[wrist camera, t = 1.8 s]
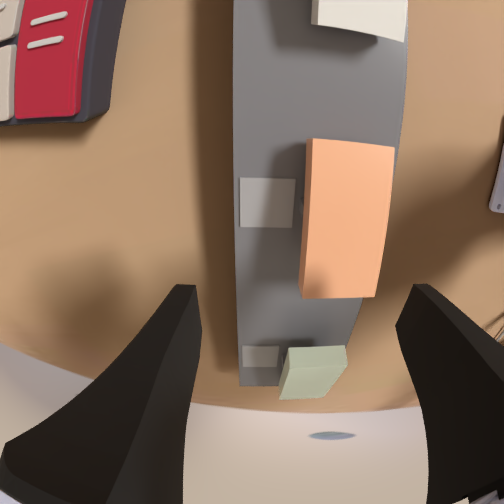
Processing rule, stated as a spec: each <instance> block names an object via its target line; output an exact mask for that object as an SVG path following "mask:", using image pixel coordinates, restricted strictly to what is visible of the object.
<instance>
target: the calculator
mask: <svg viewBox="0 0 504 504" xmlns="http://www.w3.org/2000/svg"><path fill="white" fill-rule="evenodd" d="M125 3H126V0H0V126H10V125H23V124H41V123H83V122H86V121H88V120H90V119H93V118H95V117H97V116H99V115H102V114H104V113H106V112H107V111H108V110H109V107H110V98H111V88H112V79H113V71H114V64H115V57H116V51H117V45H118V39H119V33H120V28H121V23H122V17H123V12H124V7H125Z"/></svg>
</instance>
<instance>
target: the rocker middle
mask: <svg viewBox="0 0 504 504" xmlns="http://www.w3.org/2000/svg"><path fill="white" fill-rule="evenodd" d="M394 152H395V147H389V146H382V145H374V144H367V143H358V142H349V141H340V140H329V139H316V138H309V139H306V169H305V192H304V210H303V227H302V242H301V256H300V268H299V280H298V286H299V289H300V293H301V296H302V299H321V298H359V297H375V292H376V287H377V282H378V277H379V272H380V267H381V262H382V256H383V250H384V244H385V237H386V231H387V224H388V216H389V208H390V200H391V190H392V179H393V167H394Z"/></svg>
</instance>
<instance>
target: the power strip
mask: <svg viewBox="0 0 504 504" xmlns="http://www.w3.org/2000/svg"><path fill="white" fill-rule="evenodd" d="M311 14H312V0H234V9H233V173H234V229H235V269H236V303H237V331H238V357H239V380H240V386H279V381H280V378H281V374H282V370H283V367H284V363H285V359H286V356H287V352H288V348H292V347H320V346H339V345H345V349H346V346H347V343H348V341H349V338H350V335H351V333H352V330H353V327H354V324H355V321H356V318H357V315H358V313H359V310H360V307H361V303H362V300H363V297H359V298H321V299H302V296H301V293H300V289H299V286H298V280H299V268H300V256H301V242H302V227H303V210H304V192H305V169H306V139H309V138H316V139H329V140H340V141H349V142H358V143H367V144H374V145H382V146H389V147H395V152H394V167H393V179H394V173H395V167H396V162H397V156H398V149H399V142H400V135H401V128H402V120H403V111H404V101H405V89H406V75H407V55H408V8H407V17H406V27H405V36H404V43H403V42H400V41H396V40H392V39H388V38H384V37H380V36H376V35H371V34H367V33H362V32H357V31H352V30H347V29H341V28H335V27H328V26H321V25H313V24H311ZM393 179H392V184H393Z"/></svg>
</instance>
